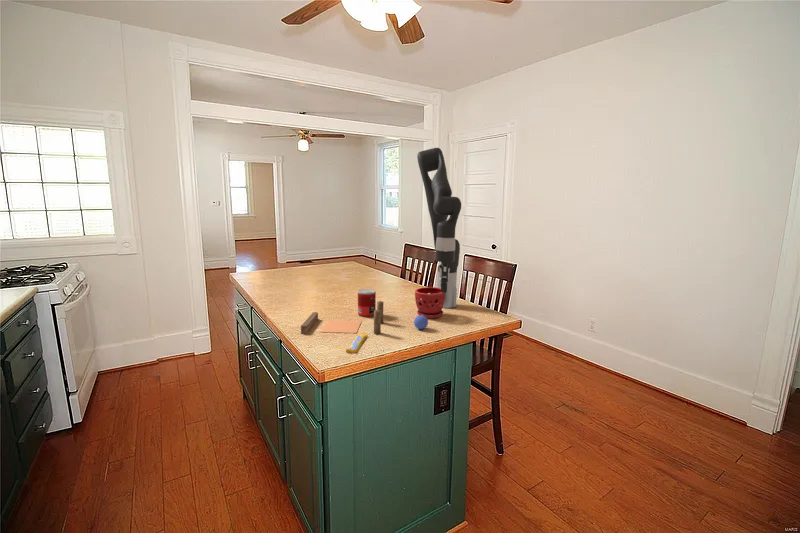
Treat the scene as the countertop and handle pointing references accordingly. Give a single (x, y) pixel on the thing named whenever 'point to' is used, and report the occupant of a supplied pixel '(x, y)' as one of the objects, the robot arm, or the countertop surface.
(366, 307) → the canned food
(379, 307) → the post
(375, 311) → the post
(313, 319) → the strip
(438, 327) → the countertop surface
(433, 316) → the plant pot
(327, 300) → the countertop surface
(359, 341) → the candy bar
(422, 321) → the ball
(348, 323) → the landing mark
